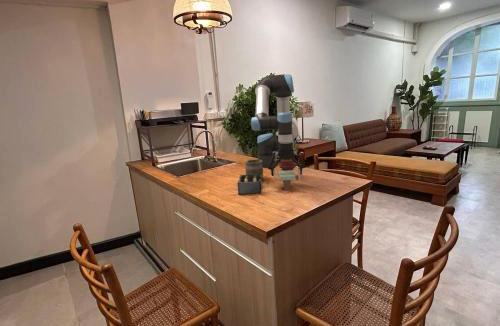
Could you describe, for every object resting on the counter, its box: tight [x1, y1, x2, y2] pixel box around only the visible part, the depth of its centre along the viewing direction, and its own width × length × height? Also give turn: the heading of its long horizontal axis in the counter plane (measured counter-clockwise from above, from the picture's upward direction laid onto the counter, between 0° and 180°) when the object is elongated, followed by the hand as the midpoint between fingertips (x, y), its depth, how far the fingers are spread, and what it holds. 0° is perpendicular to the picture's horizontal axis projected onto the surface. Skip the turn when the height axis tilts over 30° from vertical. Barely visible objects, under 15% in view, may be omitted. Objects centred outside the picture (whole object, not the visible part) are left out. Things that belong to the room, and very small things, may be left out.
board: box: [278, 169, 296, 181], centre depth 147 cm, size 12×8×2 cm, turn 177°
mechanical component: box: [278, 159, 297, 171], centre depth 166 cm, size 12×10×10 cm
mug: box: [244, 159, 264, 182], centre depth 167 cm, size 16×11×12 cm
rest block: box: [282, 180, 292, 191], centre depth 148 cm, size 8×4×6 cm, turn 177°
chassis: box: [236, 174, 263, 196], centre depth 148 cm, size 16×12×6 cm
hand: (286, 181), depth 148 cm, fingers open, 13 cm apart
